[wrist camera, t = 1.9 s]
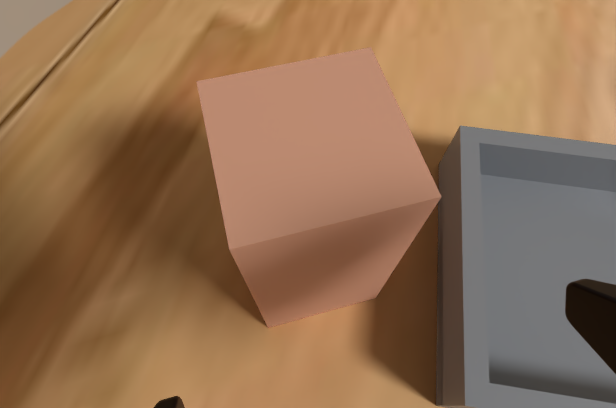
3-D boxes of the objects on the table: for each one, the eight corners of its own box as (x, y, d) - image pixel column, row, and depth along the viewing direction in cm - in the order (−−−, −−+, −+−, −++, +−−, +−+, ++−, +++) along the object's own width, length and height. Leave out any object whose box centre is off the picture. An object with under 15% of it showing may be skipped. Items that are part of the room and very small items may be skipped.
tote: (667, 194, 25) (727, 159, 21) (739, 457, 19) (842, 469, 15) (438, 164, 26) (460, 125, 22) (435, 405, 20) (465, 405, 16)
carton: (375, 298, 22) (441, 196, 11) (268, 327, 21) (229, 249, 10) (342, 203, 25) (370, 47, 14) (246, 227, 24) (196, 81, 13)
